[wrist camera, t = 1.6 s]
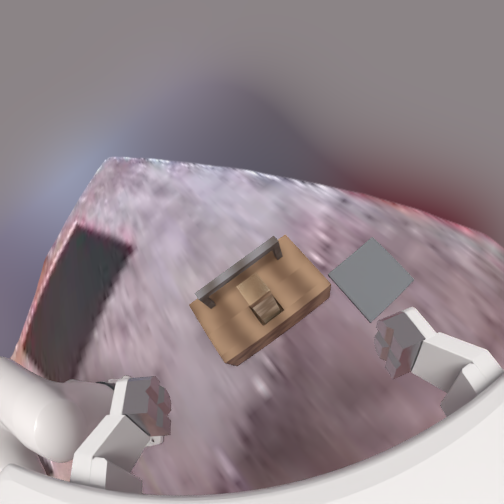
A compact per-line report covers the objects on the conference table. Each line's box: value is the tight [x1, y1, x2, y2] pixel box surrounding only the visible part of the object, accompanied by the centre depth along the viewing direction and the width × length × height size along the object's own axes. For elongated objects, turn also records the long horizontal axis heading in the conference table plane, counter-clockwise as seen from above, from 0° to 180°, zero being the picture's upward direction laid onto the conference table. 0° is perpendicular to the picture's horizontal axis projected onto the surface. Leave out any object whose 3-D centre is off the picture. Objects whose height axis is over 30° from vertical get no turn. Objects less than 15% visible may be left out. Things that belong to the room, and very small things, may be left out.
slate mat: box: [328, 237, 414, 323], centre depth 55 cm, size 14×14×1 cm
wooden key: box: [236, 272, 281, 324], centre depth 47 cm, size 4×4×15 cm
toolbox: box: [189, 235, 331, 366], centre depth 52 cm, size 24×14×14 cm, turn 125°
